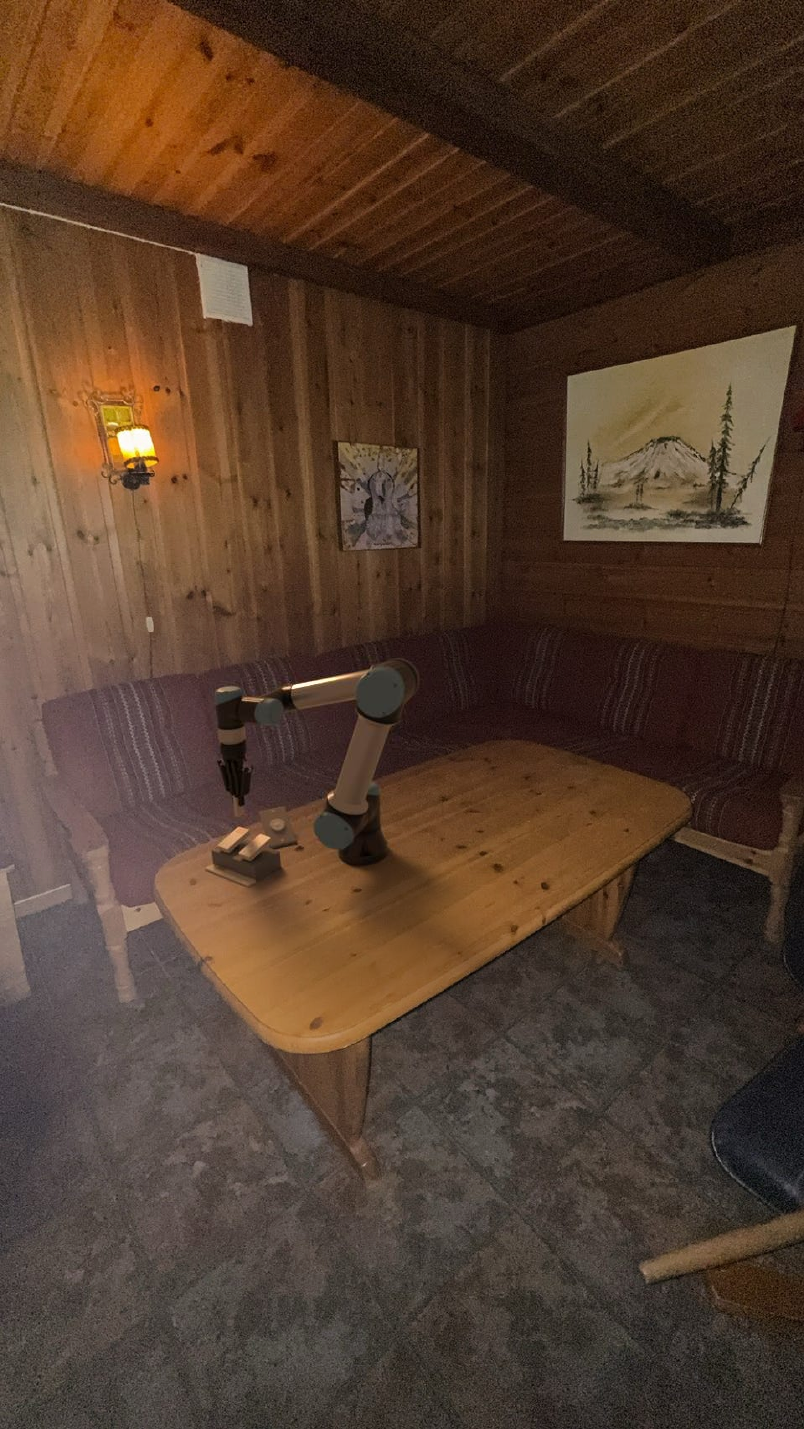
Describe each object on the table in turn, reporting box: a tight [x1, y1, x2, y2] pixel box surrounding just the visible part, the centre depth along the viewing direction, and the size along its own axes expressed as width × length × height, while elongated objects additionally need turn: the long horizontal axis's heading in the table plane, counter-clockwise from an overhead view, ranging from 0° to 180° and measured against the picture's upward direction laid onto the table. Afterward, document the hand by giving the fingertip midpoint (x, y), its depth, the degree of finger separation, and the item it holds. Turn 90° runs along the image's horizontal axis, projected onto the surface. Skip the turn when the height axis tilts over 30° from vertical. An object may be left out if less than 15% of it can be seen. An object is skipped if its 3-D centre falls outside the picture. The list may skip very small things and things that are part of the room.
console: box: [204, 838, 282, 888], centre depth 183 cm, size 18×13×6 cm
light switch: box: [258, 805, 297, 849], centre depth 201 cm, size 8×6×14 cm
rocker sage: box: [239, 833, 272, 861], centre depth 180 cm, size 4×9×2 cm, turn 147°
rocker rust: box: [216, 826, 251, 853], centre depth 185 cm, size 4×9×2 cm, turn 147°
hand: (239, 814), depth 186 cm, fingers closed
